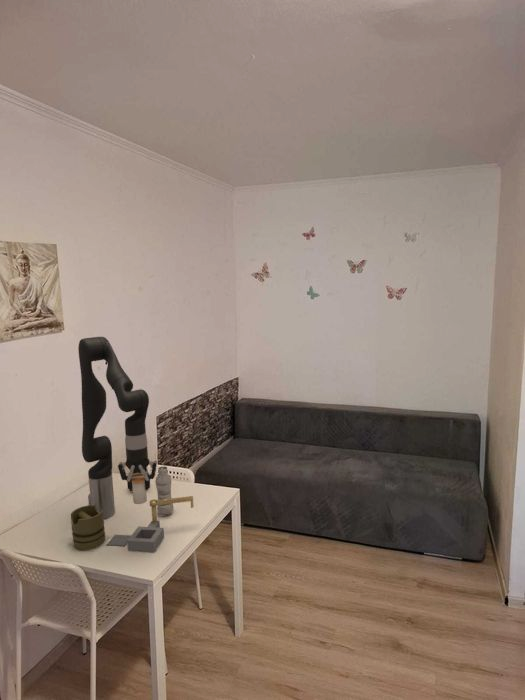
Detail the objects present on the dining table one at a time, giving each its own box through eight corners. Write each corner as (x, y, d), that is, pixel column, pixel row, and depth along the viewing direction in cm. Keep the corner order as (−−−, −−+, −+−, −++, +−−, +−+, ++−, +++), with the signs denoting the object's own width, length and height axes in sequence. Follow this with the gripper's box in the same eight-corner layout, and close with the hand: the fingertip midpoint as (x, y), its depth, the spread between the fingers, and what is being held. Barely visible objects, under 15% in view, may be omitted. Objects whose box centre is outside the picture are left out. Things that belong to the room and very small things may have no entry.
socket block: (128, 550, 175) (125, 523, 173) (144, 529, 189) (142, 503, 188) (154, 552, 173) (152, 524, 171) (168, 530, 188) (167, 505, 186)
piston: (93, 502, 187) (108, 511, 180) (96, 531, 189) (111, 541, 181) (65, 513, 179) (79, 523, 171) (68, 543, 181) (82, 554, 173)
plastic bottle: (170, 518, 198) (167, 471, 195) (154, 517, 199) (151, 470, 196) (176, 510, 204) (173, 465, 201) (161, 509, 205) (158, 464, 202)
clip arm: (193, 508, 188) (193, 498, 187) (150, 513, 185) (149, 503, 184) (193, 504, 191) (192, 495, 190) (150, 509, 187) (149, 499, 187)
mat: (106, 545, 179) (106, 544, 178) (115, 535, 185) (114, 534, 185) (124, 546, 177) (124, 545, 177) (132, 536, 184) (132, 535, 184)
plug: (131, 504, 174) (129, 482, 173) (134, 498, 179) (132, 476, 178) (145, 504, 175) (144, 481, 173) (148, 497, 180) (147, 475, 178)
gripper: (113, 449, 170) (116, 495, 172) (154, 448, 170) (157, 493, 173) (118, 442, 177) (121, 486, 180) (158, 440, 178) (160, 484, 180)
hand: (139, 489), depth 176 cm, fingers closed on plug, 5 cm apart
